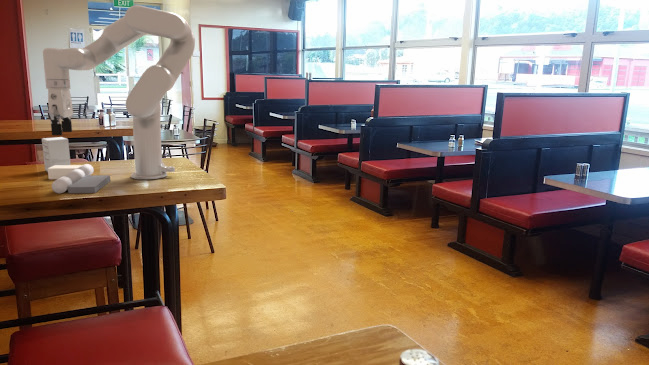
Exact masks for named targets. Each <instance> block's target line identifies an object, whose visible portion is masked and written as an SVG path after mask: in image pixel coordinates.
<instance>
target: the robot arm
mask: <svg viewBox="0 0 649 365" xmlns="http://www.w3.org/2000/svg"><path fill="white" fill-rule="evenodd" d="M146 35H152V36H156V37H161V38H165V39H169V40H170V41H169V42H170V43H169V44H168V47H166V49H165V50H164V52H163V53H162V55H161V56H160V58H159V60H158V61H157V62H156V64H154V65H151V66H149V67H147V68H146V69H145V71H144V72H143V73H142V75H141V76H140V77H139V79H138V80H137V81H136V83H135V85H134V86H133V88H132V89H131V91H130V92H129V93H128V96H127V97H126V100H125V108H126V112H128V114H129V115H130V116H131V117H132V133H133V134H132V135H133V136H132V137H133V151H134V152H133V153H134V172H132V173H131V174H130V176H131V178H132V179H135V180H157V179H162V178H166V177H167V176H168V173H174V172H175V166H173V165H172V166H171V165H170V166H166V165H165V163H164V162H163V153H162V152H163V150H162V130H161V129H162V128H161V117H162V116H161V115H162V114H161V112H162V108H161V101H162V100H163V98H164V97H165V95H166V94H167V92H168V91H170V90H171V89H172V88H174V85H175V84H176V83H177V80H178V78H179V77H180V75H181V74H182V73H183V71H184V69H185V68H186V66H187V64H188V63H189V61H190V59H191V58H192V56H193V54H194V52H195V47H196V38H195V35H194V31H193V30H192V27H191V25H190V24H189V23H188V21H187V20H186V19H185V18H183V17H182V16H181V15H179V14H177V13H175V12H171V11H165V10H161V9H156V8H153V7H147V6H144V5H141V4H140V5H139V4H135V5H131V6H130V7H128V8H127V10H126V11H125V13H124V16H122V17H120V18H119V19H117V20H115V21H113V22H112V23H110V24H109V25H107V26H105V28H103V31H102V33H101V35H100V36H99V37H98V38H97V39H96V40H94V41H93V42H91V43H90V44H88V45H86V46H85V47H82V48H79V47H72V48H71V47H70V48H62V47H61V48H60V47H46V48H44V49H43V50H42V56H43V57H42V60H43V69H44V80H45V89H46V90H48V91H47V99H48V100H47V101H48V102H47V103H48V115H49V120H50V121H49V122H50V127H51V128H50V129H51V130H50V131H51V135H52V136H63V133H71V132H73V126H72V116H74V108H73V101H72V95H71V91H70V89H71V81H70V80H71V79H70V70H72V71H89V70H92V69H95V68H96V67H98V66H100V65H101V64H103V63H105V62H106V61H107V60H109V59H110V58H112V57H113V56H114V55H116V54H118V53H119V52H120V51H121V50H122V49H124V48H125V47H127V46H129V45H131V44H133V43H134V42H136V41H137V40H139V39H140V38H142V37H144V36H146Z"/></svg>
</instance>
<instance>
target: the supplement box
mask: <svg viewBox="0 0 649 365" xmlns="http://www.w3.org/2000/svg"><path fill="white" fill-rule="evenodd" d="M41 143H42V144H41V146H42V153H43V162H44V171H46V172H47V173H48V168H50V167H52V166H54V165H72V164H71V156H70V145H69V139H68V138H67V137H63V136H59V137H57V136H55V137H46V138H45V137H43V138H41Z"/></svg>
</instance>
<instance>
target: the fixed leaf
mask: <svg viewBox="0 0 649 365" xmlns="http://www.w3.org/2000/svg"><path fill="white" fill-rule="evenodd" d="M109 182H111V175H109V174H107V175H103V174H101V175H100V174H99V175H92V174H91V175H89V176H85V173H84V172H83V171H82V170H81V169H75V170H73V171H71V172H69V173H68V174H67V176H66V177H61V178H59V179H54V180H53V182H52V183H51V189H52V191H53V192H54V193H56V194H63V193H65V192H66V191H68V194H96V193H97V192H99V191H100V190H101V189H102V188H103V187H105V186H106V185H107V184H108V183H109Z"/></svg>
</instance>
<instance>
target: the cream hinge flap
mask: <svg viewBox="0 0 649 365" xmlns="http://www.w3.org/2000/svg"><path fill="white" fill-rule="evenodd" d="M75 169H81V170H82V171H83V172H84V173H85V176H89V175H92V174H94V171H95V170H94V167H93V165H91V164H89V163H85V164H71V165H54V166H52V167H50V168H48V172H47V174H48V180H57V179H59V178H61V177H66V176H67V174H68V173H69V172H71V171H73V170H75Z"/></svg>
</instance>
